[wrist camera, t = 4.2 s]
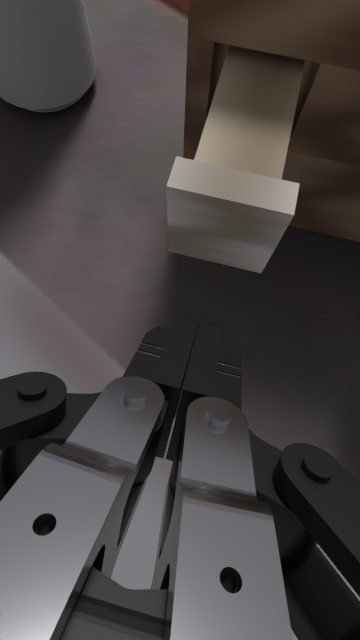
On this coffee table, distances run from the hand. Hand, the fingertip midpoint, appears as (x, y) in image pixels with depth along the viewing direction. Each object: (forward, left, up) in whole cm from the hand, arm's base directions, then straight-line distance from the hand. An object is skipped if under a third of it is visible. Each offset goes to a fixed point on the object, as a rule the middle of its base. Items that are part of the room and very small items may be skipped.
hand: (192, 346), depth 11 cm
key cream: (0, +9, -2) cm, 9 cm away
